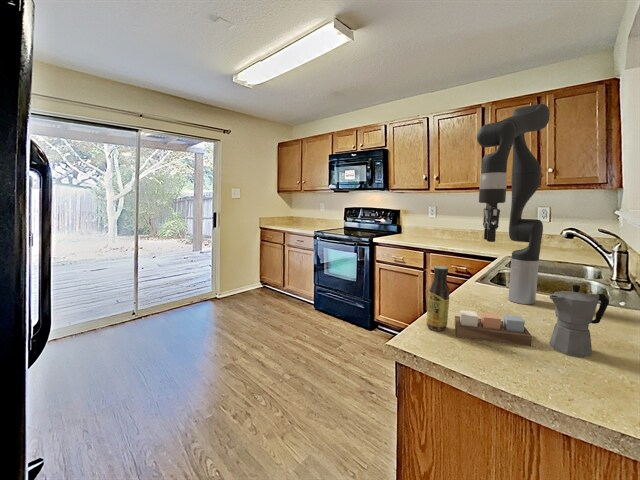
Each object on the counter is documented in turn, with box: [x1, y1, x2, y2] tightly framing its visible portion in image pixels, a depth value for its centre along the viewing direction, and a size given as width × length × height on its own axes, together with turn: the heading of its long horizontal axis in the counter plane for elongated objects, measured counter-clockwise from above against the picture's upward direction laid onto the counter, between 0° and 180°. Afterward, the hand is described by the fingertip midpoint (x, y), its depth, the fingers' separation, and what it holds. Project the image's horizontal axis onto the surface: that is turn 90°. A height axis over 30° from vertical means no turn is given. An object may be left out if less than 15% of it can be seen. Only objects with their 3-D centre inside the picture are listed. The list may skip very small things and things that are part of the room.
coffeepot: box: [548, 284, 610, 358], centre depth 85 cm, size 15×9×18 cm, turn 89°
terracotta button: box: [480, 312, 502, 329], centre depth 95 cm, size 4×4×4 cm
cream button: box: [459, 309, 479, 327], centre depth 97 cm, size 4×4×4 cm
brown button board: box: [453, 315, 533, 348], centre depth 95 cm, size 10×19×3 cm, turn 71°
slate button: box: [502, 314, 525, 332], centre depth 93 cm, size 4×4×4 cm
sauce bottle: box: [426, 265, 451, 332], centre depth 99 cm, size 7×6×20 cm
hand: (489, 240), depth 102 cm, fingers open, 5 cm apart
